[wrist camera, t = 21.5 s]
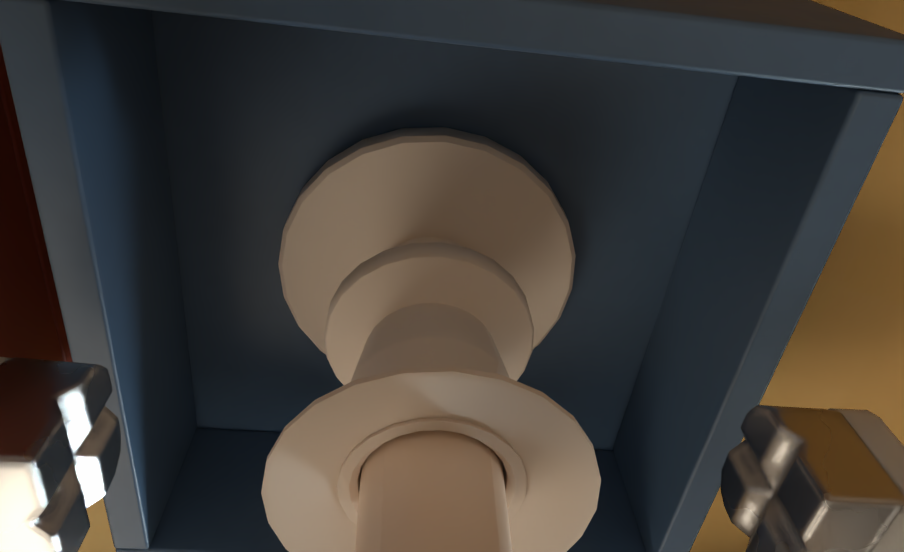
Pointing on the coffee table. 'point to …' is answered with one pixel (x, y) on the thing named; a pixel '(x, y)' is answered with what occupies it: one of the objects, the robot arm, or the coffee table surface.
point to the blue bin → (469, 110)
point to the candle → (429, 355)
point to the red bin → (24, 253)
